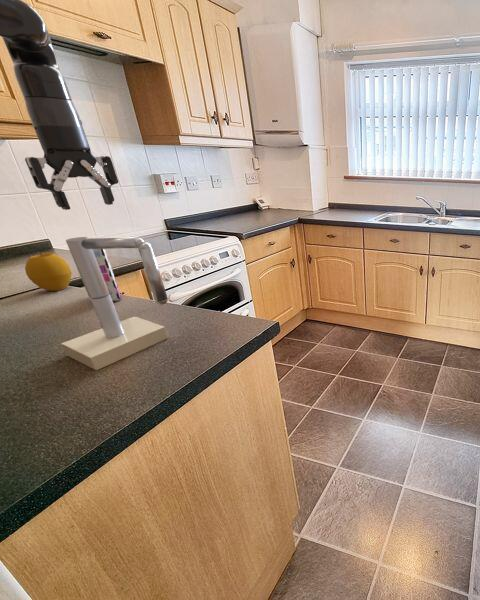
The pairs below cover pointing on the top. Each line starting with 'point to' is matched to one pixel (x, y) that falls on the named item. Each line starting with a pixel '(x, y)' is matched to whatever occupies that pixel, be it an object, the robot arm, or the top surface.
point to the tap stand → (113, 337)
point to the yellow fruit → (48, 271)
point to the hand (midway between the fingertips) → (88, 206)
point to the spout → (92, 272)
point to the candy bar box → (107, 273)
